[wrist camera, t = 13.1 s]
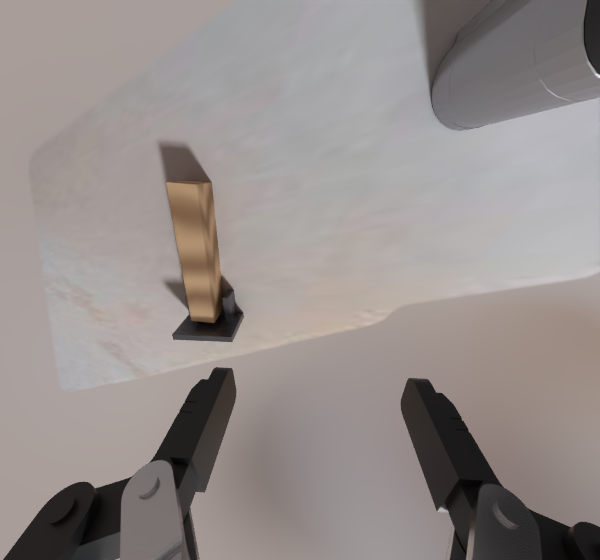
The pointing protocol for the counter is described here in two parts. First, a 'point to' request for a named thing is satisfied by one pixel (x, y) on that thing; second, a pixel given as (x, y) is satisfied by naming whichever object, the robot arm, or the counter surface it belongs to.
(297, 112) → the counter surface
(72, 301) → the counter surface
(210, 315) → the rail
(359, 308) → the counter surface
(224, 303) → the cup bracket
